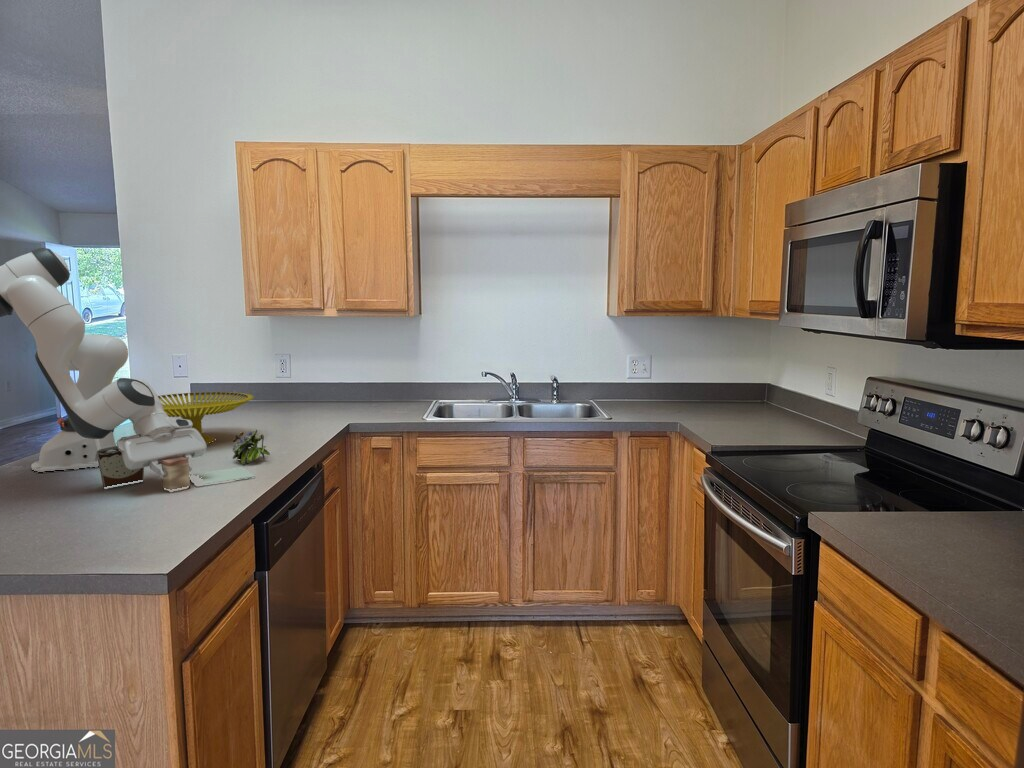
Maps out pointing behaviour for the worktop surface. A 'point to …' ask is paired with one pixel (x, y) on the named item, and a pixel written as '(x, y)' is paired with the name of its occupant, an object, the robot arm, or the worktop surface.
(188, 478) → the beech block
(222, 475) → the sage mat
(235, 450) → the passion flower
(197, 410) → the cake stand
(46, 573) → the worktop surface
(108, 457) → the food container
